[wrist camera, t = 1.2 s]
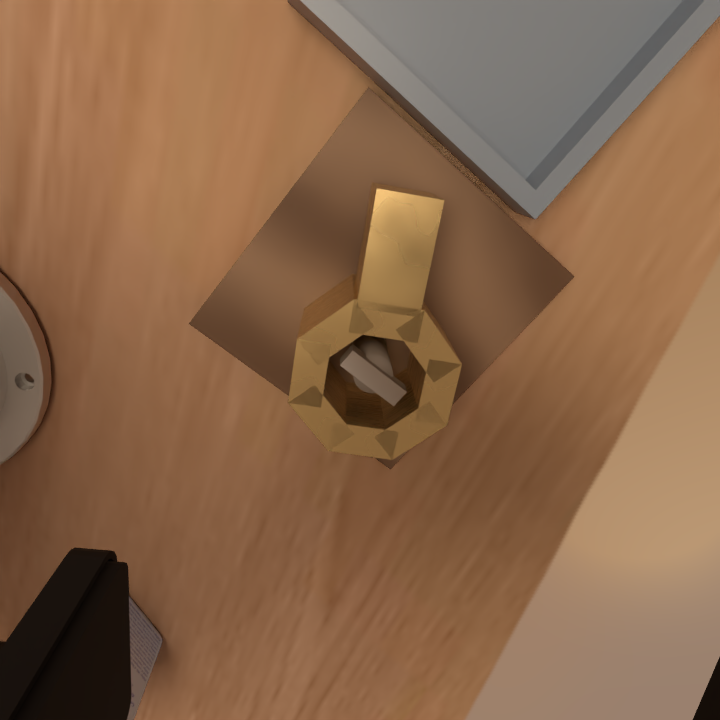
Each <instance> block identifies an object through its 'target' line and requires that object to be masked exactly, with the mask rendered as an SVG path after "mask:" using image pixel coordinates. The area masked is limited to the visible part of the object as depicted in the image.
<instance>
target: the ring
mask: <svg viewBox="0 0 720 720" xmlns="http://www.w3.org/2000/svg"><path fill="white" fill-rule="evenodd" d="M443 205H444V200H443V199H441V198H439V197H438V196H436V195H434V194H432V193H430V192H424V191H418V190H413V189H407V188H401V187H396V186H390V185H384V184H379V183H373V182H372V185H371V191H370V197H369V203H368V209H367V215H366V221H365V227H364V232H363V238H362V244H361V250H360V256H359V262H358V268H357V274H351V275H350V276H349V277H347V278H346V279H344V280H343V281H342V282H340V283H339V284H337V285H336V286H335V287H333V288H332V289H330V290H329V291H328V292H326V293H325V294H323V295H322V296H320V297H319V298H318V299H316V300H315V301H313V302H312V303H311V304H309V305H308V306H306V307H305V308H304V311H303V315H302V319H301V324H300V328H299V332H298V337H297V342H296V350H295V357H294V364H293V371H292V378H291V385H290V392H289V399H288V403H289V405H290V406H291V407H292V408H293V409H294V411H295V412H296V413H297V414H298V415H299V417H300V418H301V419H302V420H303V421H304V423H305V424H306V425H307V426H308V427H309V429H310V430H311V431H312V432H313V433H314V435H315V436H316V437H317V438H318V439H319V441H320V442H321V443H322V444H323V445H324V447H325V448H326V449H327V450H328V451H331V452H338V453H345V454H353V455H360V456H367V457H375V458H382V459H389V460H393V459H395V458H396V457H398V456H399V455H401V454H403V453H404V452H406V451H407V450H409V449H411V448H412V447H414V446H415V445H417V444H418V443H420V442H422V441H423V440H425V439H426V438H428V437H430V436H431V435H433V434H434V433H436V432H437V431H439V430H441V429H442V428H444V427H445V426H447V424H448V420H449V415H450V411H451V407H452V403H453V399H454V395H455V391H456V387H457V383H458V379H459V375H460V371H461V366H462V363H461V361H460V360H459V358H458V356H457V354H456V352H455V350H454V349H453V347H452V345H451V343H450V341H449V340H448V338H447V336H446V334H445V332H444V330H443V329H442V328H441V326H440V325H439V323H438V322H437V320H436V319H435V317H434V316H433V315H432V313H431V312H430V310H429V309H428V307H427V306H426V304H425V303H424V301H423V299H424V294H425V290H426V285H427V280H428V276H429V271H430V266H431V261H432V257H433V252H434V247H435V243H436V238H437V233H438V228H439V224H440V219H441V214H442V210H443ZM361 335H368V336H375V337H381V338H388V339H394V340H401V341H404V342H405V344H406V345H407V346H408V348H409V349H410V353H409V358H408V362H407V367H406V369H404V370H403V371H401V372H400V373H398V374H397V375H395V377H396V378H397V379H398V380H400V381H401V382H402V383H404V384H405V387H406V391H407V392H406V394H405V395H404V396H403V397H402V398H401V399H400V400H399V401H398V402H397V403H396V404H395V406H393V405H391V404H390V403H389V402H388V401H386V400H385V399H384V398H382V397H381V396H380V395H378V394H377V393H367V392H364V391H362V390H361V389H359V388H358V387H357V385H356V384H355V383H352V382H346V381H345V380H344V379H343V377H342V376H341V375H340V374H339V372H338V371H337V370H336V368H335V367H334V366H333V365H332V363H331V362H330V361H329V357H331V356H332V355H334V354H335V353H337V352H338V351H339V350H341V349H342V348H344V347H345V346H347V345H348V344H350V343H351V342H353V341H354V340H356V339H357V338H358V337H360V336H361Z"/></svg>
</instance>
